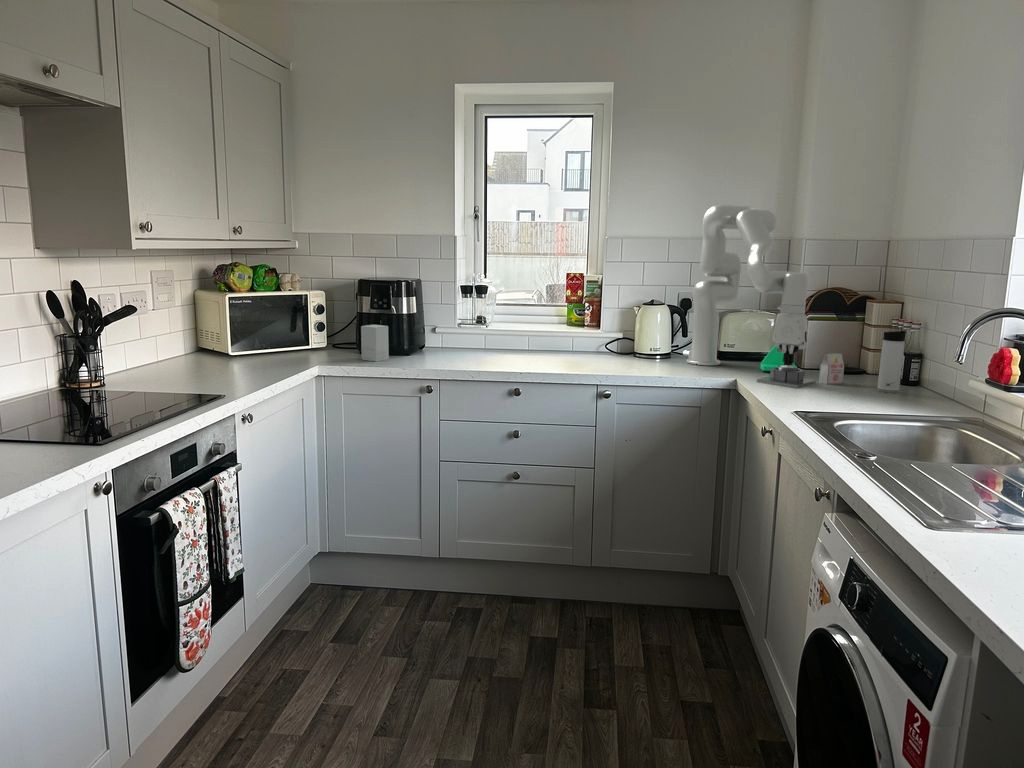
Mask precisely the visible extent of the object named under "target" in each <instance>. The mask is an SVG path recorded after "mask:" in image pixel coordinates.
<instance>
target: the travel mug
mask: <svg viewBox="0 0 1024 768" xmlns="http://www.w3.org/2000/svg"><path fill="white" fill-rule="evenodd" d="M906 334H907V330H900V331H898V330H897V331H884V332H883V339H882V345H881V351H880V352H881V353H880V362H879V369H878V370H879V373H878V379H877V381H878V382H877V387H876V388H877V389H876V390H877V392H878V391H879V393H881V392H883V393H882V394H888V393H897V394H898V393H899V392H900V385H901V384H900V383H901V376H902V369H903V368H902V366H903V360H904V352H905V351H904V350H905V342H906V340H905V339H906Z"/></svg>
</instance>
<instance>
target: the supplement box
mask: <svg viewBox="0 0 1024 768" xmlns="http://www.w3.org/2000/svg"><path fill="white" fill-rule="evenodd" d="M360 336H361V337H360V341H361V342H360V343H361V345H360V346H361V347H360V348H361V349H360V350H361V351H360V352H361V360H362V361H369V362H381V361H387V360H389V358H390V356H389V355H390V354H389V353H390V352H389V351H390V350H389V349H390V348H389V345H390V344H389V326H388V325H380V324H366V325H361V326H360Z"/></svg>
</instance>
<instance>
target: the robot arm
mask: <svg viewBox="0 0 1024 768" xmlns="http://www.w3.org/2000/svg"><path fill="white" fill-rule="evenodd" d="M776 226H777V219H776V216H775V214H774V213H773V212H772V211H771V210H769V209H766V208H765V209H764V208H758V207H753V206H747V205H733V204H718V205H714V206H711V207H710V208H709V209H707V210H706V212H705V213H704V216H703V219H702V246H701V254H700V263H699V272H700V274H702V275H703V276H705V277H711V278H720V279H719V280H717V279H715V280H713V279H711V280H708V279H706V280H701V281H699V282H697V283H696V284H695V285H693V286H694V287H693V289H692V300H693V301H692V302H693V324H692V325H693V326H692V337H691V338H692V340H691V349H689V350H687V349H686V350H683V353H682V355H683V356H687V357H688V358H687V359H686V363H688V364H690V365H691V364H692V365H696V364H697V365H698V366H718V365H721V360H719V359H717V356H718V344H719V341H718V340H719V330H720V314H719V312H718V309H717V306H730V305H732V304H734V303H735V301H736V300H737V298H738V294H739V288H740V287H739V286H740V279H741V273H742V272H741V271H742V263H741V258H740V257H739V255H738V254H737V253H735V252H734V251H726V248H727V247H726V246H727V237H726V234H725V232H724V230H728V229H729V230H738V231H739V233H740V236H741V238H742V239H743V242H744V244H745V246H746V248H747V250H748V252H749V254H748V257H747V261H746V272H747V276H748V277H749V279H750V281H751V284H752V285H753V287H754V288H755V290H756V291H757V292H759V293H761V294H781V304H780V305H777V307H776V309H777V310H779V313H777V316H776V319H775V323H774V328H773V335H772V341H773V346H774V345H775V346H777V347H779V349H780V350H781V351H782V352H783V353H784V356H783V362H784V365H787V366H790V365H792V364H793V362H794V363H795V354H796V353H797V352H799V350H805V349H806V348H807V341H808V332H809V329H808V317H807V314H806V305H807V301H806V300H807V293H808V284H809V283H808V282H809V281H808V279H809V276H808V274H807V273H806V272H799V271H798V272H793V271H789V270H768V269H767V268H766V266H765V264H764V261H763V256H764V255H766V254H768V253H769V252H770V251H771V250H772V249H773V247H774V245H775V244H774V240H773V239H772V236H771V235H770V234H771V233H773V231H774V230H775V229H776Z"/></svg>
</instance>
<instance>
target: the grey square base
mask: <svg viewBox="0 0 1024 768" xmlns="http://www.w3.org/2000/svg"><path fill="white" fill-rule="evenodd" d="M769 373H770V374H769V376H765V377H760V378H756V382H757V383H760V382H762V384H767V383H768V384H767V385H773V384H774V386H779V385H780V386H781V387H787V388H792V387H793V389H800V388H802V387H803V386H804V387H806V386H810V385H814V384H816V382H817V381H816V380H815V379H808V378H805V377H804V376H805V370H804V369H801V368H798V367H797V371H781V370H778V367H773V368H771V370H770V371H769Z"/></svg>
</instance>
